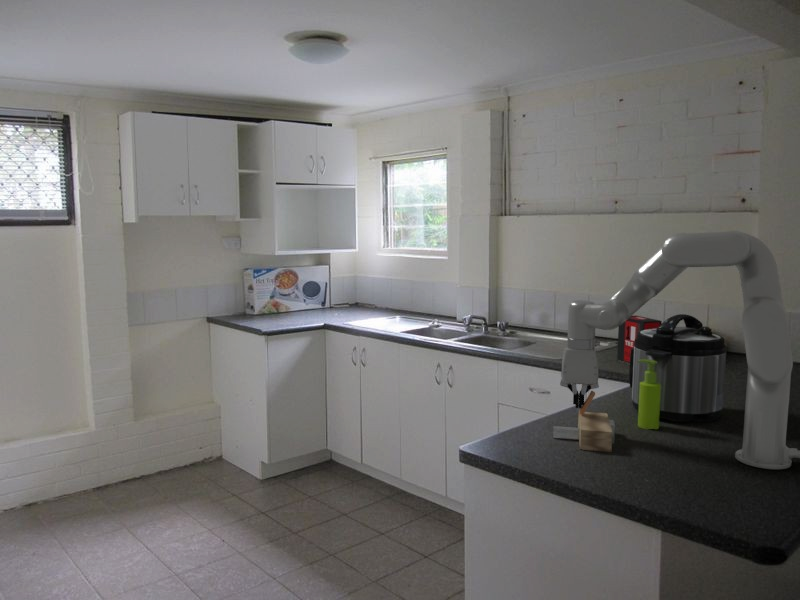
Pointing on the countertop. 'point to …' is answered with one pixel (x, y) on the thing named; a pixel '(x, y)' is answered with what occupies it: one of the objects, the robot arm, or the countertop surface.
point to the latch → (587, 402)
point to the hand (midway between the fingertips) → (578, 407)
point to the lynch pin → (575, 432)
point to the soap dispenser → (649, 398)
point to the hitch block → (595, 431)
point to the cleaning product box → (632, 334)
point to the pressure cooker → (682, 368)
